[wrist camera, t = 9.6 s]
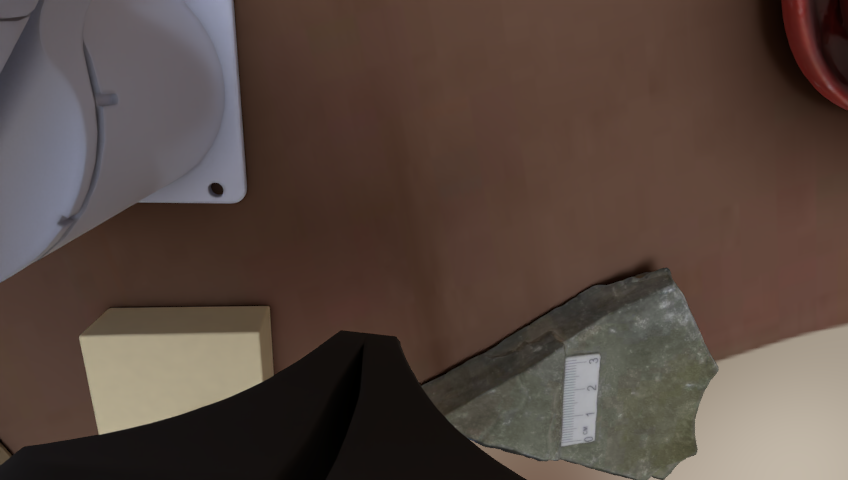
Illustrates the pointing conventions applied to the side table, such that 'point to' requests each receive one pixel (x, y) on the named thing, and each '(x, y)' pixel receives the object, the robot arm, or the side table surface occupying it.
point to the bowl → (4, 454)
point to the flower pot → (820, 44)
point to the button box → (172, 360)
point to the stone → (590, 382)
